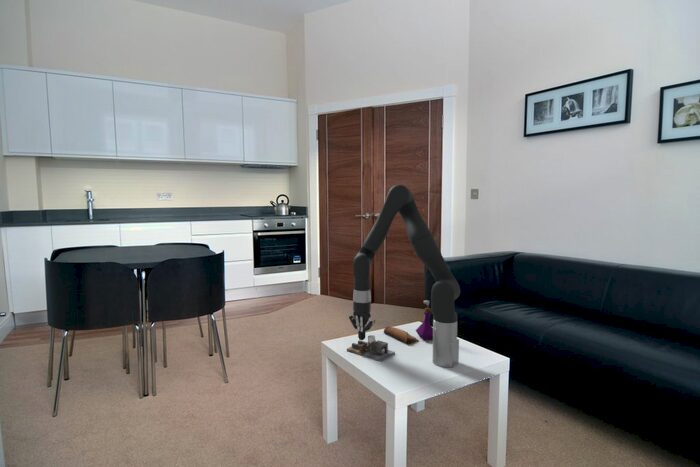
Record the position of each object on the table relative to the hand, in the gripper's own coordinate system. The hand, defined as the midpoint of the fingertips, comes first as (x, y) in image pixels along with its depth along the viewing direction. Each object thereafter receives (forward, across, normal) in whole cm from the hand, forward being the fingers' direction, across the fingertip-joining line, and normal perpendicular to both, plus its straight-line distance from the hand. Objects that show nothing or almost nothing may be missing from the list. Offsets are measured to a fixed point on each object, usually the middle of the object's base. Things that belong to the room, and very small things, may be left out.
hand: (361, 339), depth 169 cm
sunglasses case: (+5, -5, -24) cm, 25 cm away
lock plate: (+5, -5, 0) cm, 7 cm away
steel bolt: (+3, -7, 0) cm, 8 cm away
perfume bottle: (+5, -15, -30) cm, 34 cm away
